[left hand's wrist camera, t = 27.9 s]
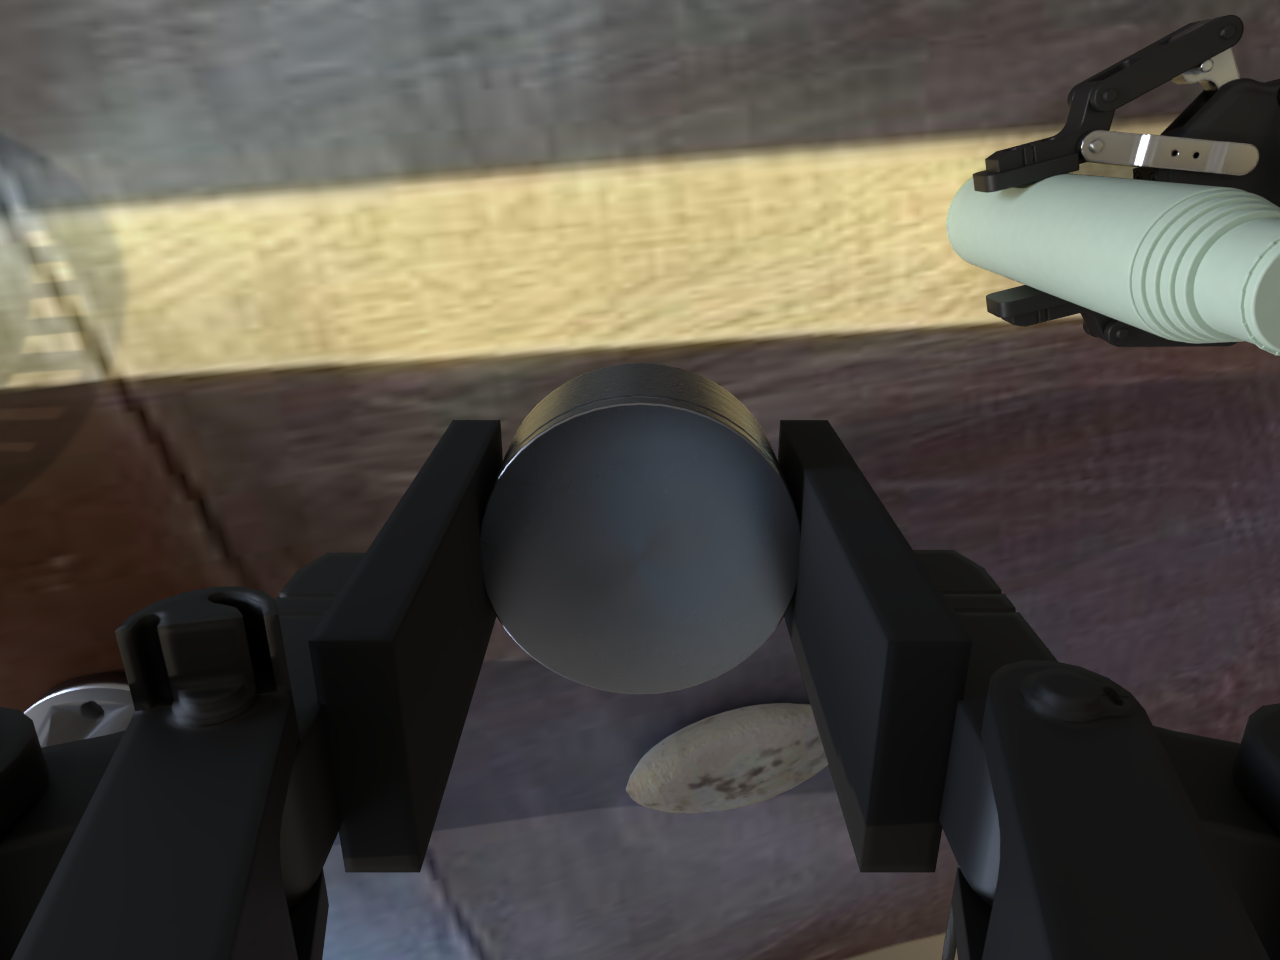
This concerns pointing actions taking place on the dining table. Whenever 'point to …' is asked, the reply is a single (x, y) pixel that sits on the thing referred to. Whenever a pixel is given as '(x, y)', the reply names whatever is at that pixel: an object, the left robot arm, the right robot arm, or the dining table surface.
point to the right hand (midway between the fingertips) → (988, 247)
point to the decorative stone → (730, 760)
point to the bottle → (1134, 252)
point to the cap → (640, 532)
